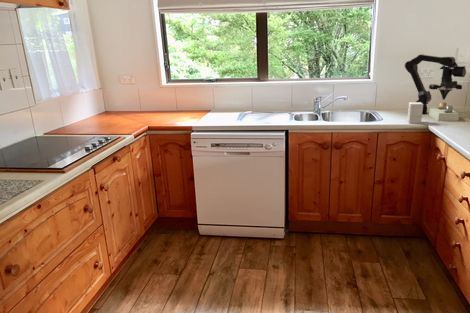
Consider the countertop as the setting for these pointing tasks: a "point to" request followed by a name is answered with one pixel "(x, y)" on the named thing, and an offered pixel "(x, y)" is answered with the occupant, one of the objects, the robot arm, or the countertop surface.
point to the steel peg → (449, 109)
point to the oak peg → (442, 106)
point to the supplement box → (415, 112)
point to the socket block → (443, 115)
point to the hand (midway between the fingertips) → (443, 99)
